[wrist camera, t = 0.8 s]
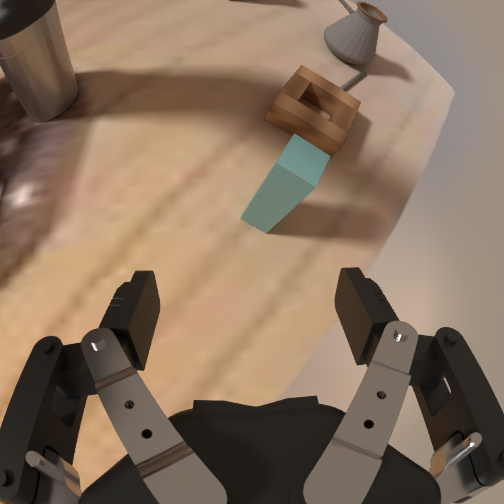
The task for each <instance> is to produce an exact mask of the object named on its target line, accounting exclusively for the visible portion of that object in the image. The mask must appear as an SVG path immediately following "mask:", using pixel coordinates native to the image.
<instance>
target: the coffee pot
mask: <svg viewBox="0 0 504 504" xmlns="http://www.w3.org/2000/svg"><path fill="white" fill-rule="evenodd" d="M339 1H340V2H341V3H342V4H343V6H344V7H345V8H346V9H347V10H348V12H349V13H350V15H348V16H346V17H344V18H343V19H341V20H339V21H337V22H336V23H334V24H332V25H331V26H329V27H327V28H326V29H325V31H324V39H325V42H326V44H327V46H328V48H329V50H330V51H331V53H332V54H333V55H335V56H336V57H337V58H339V59H340V60H342V61H344V62H346V63H349V64H368V63H370V62H371V61H373V60H374V57H375V52H376V45H377V39H378V32H379V25H381V24H382V23H386V22H387V17H386V16H385V15H384V14H383V13H382V12H381V11H380V10H379V9H377V8H376V7H374V6H372V5H370V4H368V3H365V2H358V3H357V6H358V8H357V11H355V12H354V11H353V10H352V9H351V8H350V6H349V5H348V4H347V3H346V2H345V1H344V0H339Z"/></svg>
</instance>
